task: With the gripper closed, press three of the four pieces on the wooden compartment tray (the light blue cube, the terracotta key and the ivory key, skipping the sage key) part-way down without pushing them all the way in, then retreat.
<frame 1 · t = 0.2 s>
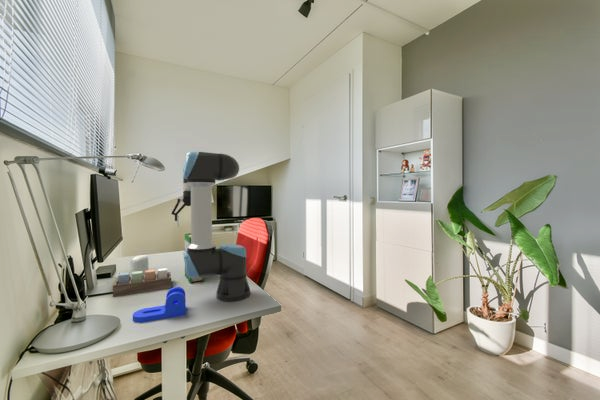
hand: (190, 226, 159), 28 cm above the table, fingers open, 13 cm apart
wooden compartment tray: (144, 288, 132), on the table
photo printer: (139, 278, 149), on the table
bracket: (160, 315, 103), on the table
ivory key: (162, 273, 136), point 6 cm above the table, slide at 0.0 cm
sage key: (137, 276, 131), point 6 cm above the table, slide at 0.0 cm
light blue cube: (124, 278, 128), point 6 cm above the table, slide at 0.0 cm
hardback book: (194, 278, 149), on the table
terracotta key: (150, 274, 133), point 6 cm above the table, slide at 0.0 cm
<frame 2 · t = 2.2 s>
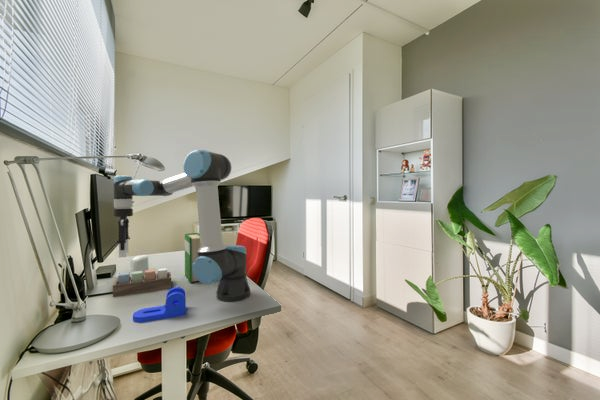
hand: (123, 254, 128), 17 cm above the table, fingers open, 9 cm apart
nothing on the table moved.
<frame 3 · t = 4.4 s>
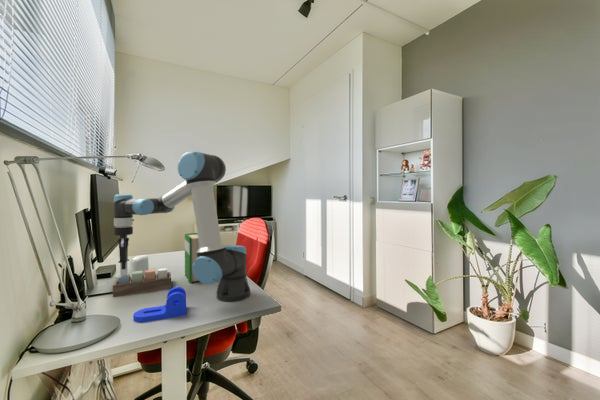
hand: (123, 275, 128), 8 cm above the table, fingers closed
light blue cube: (124, 280, 128), point 5 cm above the table, slide at 1.0 cm, touching gripper
everything else where it was.
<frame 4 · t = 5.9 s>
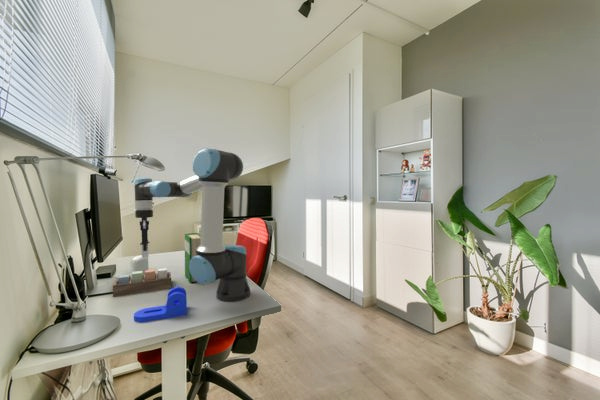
hand: (145, 257, 132), 16 cm above the table, fingers closed
light blue cube: (124, 280, 128), point 5 cm above the table, slide at 1.1 cm
everything else where it was.
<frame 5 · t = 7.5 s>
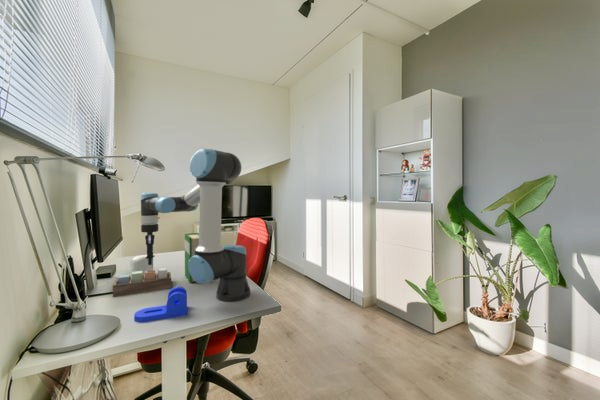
hand: (150, 270, 133), 8 cm above the table, fingers closed
terracotta key: (150, 275, 133), point 6 cm above the table, slide at 0.2 cm, touching gripper
everything else where it was.
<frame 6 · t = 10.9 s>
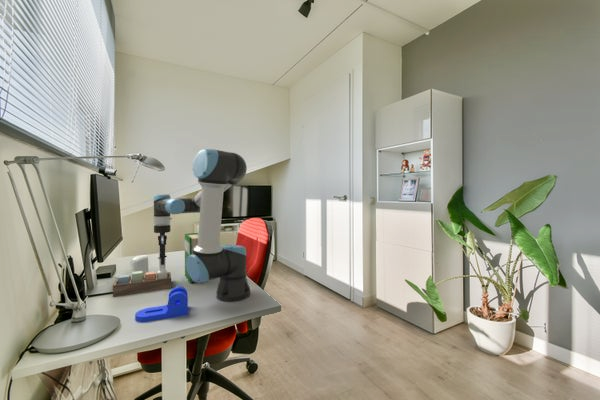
hand: (162, 270, 136), 8 cm above the table, fingers closed
ivory key: (162, 275, 136), point 5 cm above the table, slide at 0.9 cm, touching gripper
terracotta key: (150, 277, 133), point 5 cm above the table, slide at 1.1 cm
everything else where it was.
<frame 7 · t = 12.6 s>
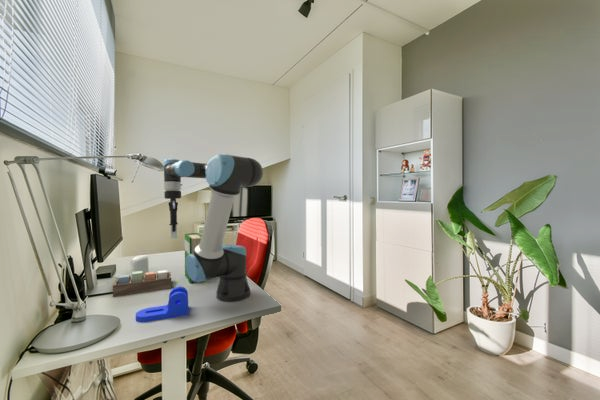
hand: (173, 237, 132), 25 cm above the table, fingers closed
ivory key: (162, 275, 136), point 5 cm above the table, slide at 1.1 cm
everything else where it was.
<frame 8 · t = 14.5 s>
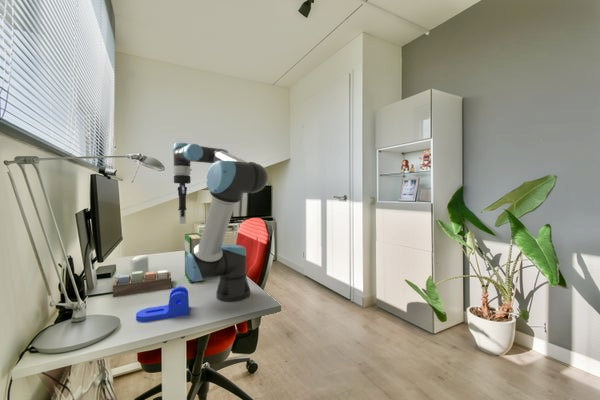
hand: (182, 223, 131), 32 cm above the table, fingers closed
at the end: light blue cube slide at 1.1 cm; terracotta key slide at 1.1 cm; ivory key slide at 1.1 cm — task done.
